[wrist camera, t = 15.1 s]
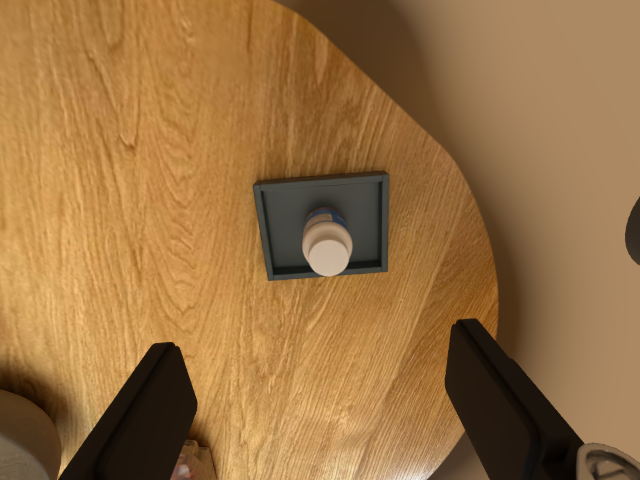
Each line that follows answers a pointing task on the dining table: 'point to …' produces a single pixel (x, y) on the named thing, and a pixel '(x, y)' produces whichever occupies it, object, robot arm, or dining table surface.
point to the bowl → (27, 441)
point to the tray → (316, 192)
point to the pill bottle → (326, 241)
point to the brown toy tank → (194, 463)
